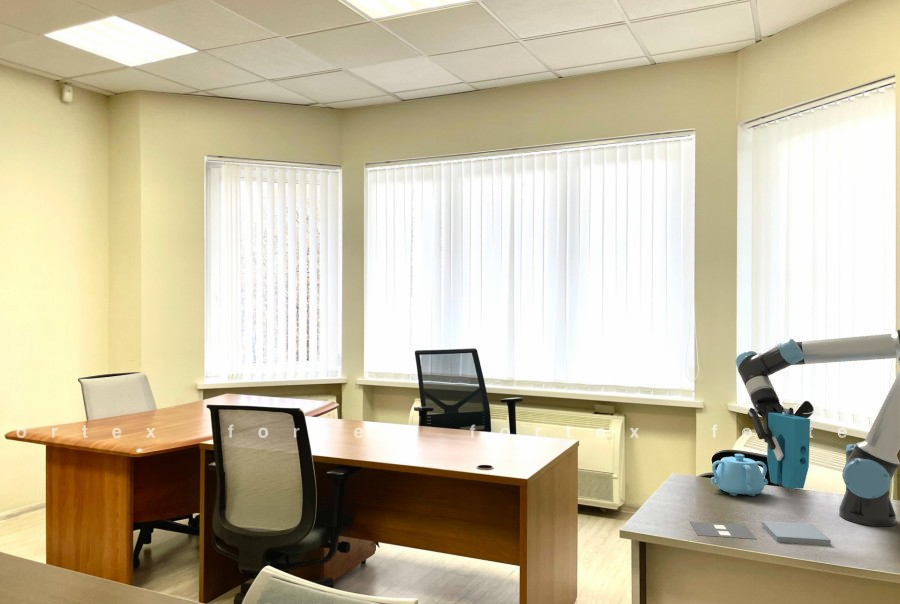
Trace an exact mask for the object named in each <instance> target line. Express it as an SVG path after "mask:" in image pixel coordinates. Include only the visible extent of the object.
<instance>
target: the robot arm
mask: <svg viewBox="0 0 900 604" xmlns="http://www.w3.org/2000/svg"><path fill="white" fill-rule="evenodd" d="M888 359H889V360H890V359H897V361H898V362H897V363H898V364H899V365H900V329H895V331H894V332H892V333H884V334H874V335H872V334H871V335H861V336H849V337H839V338H838V337H837V338H828V339H818V340H817V339H816V340H803V341H796V340H794V339H793V338H789V339H786V340H783V341H781V342H779V343H777V344H775V345H773V346H772V347H770V348H768V349H766V350H764V351H762V352H759V353H757V352H756V351H753V350H748V351H747V352H746V351H743V352H741V353H740V354H738V356H736V358H735V364H736V365H735V366H736V367H737V372H738V374H739V375H740V378H741V380H742V382H743V385H744V386H745V389H746V391H747V394H748V396H749V398H750V401H751V403H752V406H753V407H750V408H749V410H748V412H747V415H748V417H749V418H750V420H751V422H752V425H753V428H754V430H755V432H756V435H757V438H758V439H759V440H763V441H764V443H766V444H767V445H769V448H770V449H771V450H773V451H774V453H775V456H776V458H777V460H778V461H781V459H782V457H783V456H784V455H783V453H782V451H781V448H780V446H779V444H778V442H777V439H776V438H775V437H772V432H771V430H770V428H769V427H768V413H784V414H789V415H794V416H796V415H795V412H794V410H795V409H794V408H793V407H789V408H786V407H784V406H783V405H782V404H781V403H780V402H781V401H780V398H779V397H778V396H779V395H778V394H777V392H776V390H775V388H774V386H773V384H772V382H771V379H770V378H769V376H771V375H773V374H775V373H777V372H780V371H782V370H783V369H786V368H788V367H791V366H799V365H801V366H802V365H812V364H827V363H842V362H843V363H844V362H845V363H846V362H857V361H860V362H861V361H873V360H888ZM895 377H896V378H895V379H894V381H893V383H892V385H891V387H890V389H889V391H888V394H887V395H886V398H885V399H884V401H883V404H882V405H881V407H880V409H879V411H878V413H877V415H876V417H875V419H874V421H873V423H872V425H871V427H870V430H869V431H868V434H867V435H866V438H865V439H864V440H863V441H859V442H856V443H855V444H854V443H853V444H852V443H850V444H847V445H846V446H845V465H844V466H843V470H842V479H843V483H844V484H845V492H844V495H843V498H842V500H841V502H840V505H839V509H838V510H839V511H838V515H839V517H840V518H842V519H844V520H847V521H848V522H853V523H856V524H860V525H867V526H871V527H892V526H895V525H896V524H897V515H896V511H895V509H894V507H893V504H892V501H891V498H890V488H891V484H892V482H891V481H892V480H893V477H894V475H895V474H896V471H897V469H898V467H900V466H899V465H900V460H899V458H898V453H899V452H900V370H899V371H898V374H897V376H895ZM759 416H760V417H761V418H762V421H761V419H760V417H759ZM762 423H763V424H762Z"/></svg>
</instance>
